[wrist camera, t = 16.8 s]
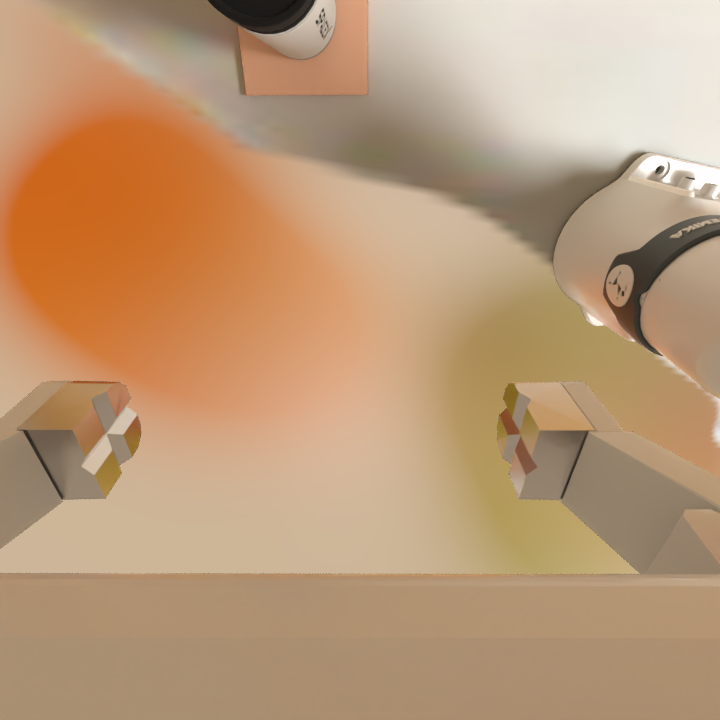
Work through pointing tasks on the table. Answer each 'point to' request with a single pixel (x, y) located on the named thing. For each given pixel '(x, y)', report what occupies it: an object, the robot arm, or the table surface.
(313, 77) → the terracotta tile
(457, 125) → the table surface
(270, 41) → the travel mug
